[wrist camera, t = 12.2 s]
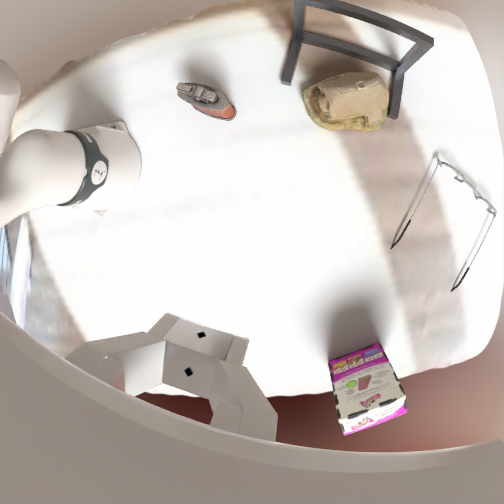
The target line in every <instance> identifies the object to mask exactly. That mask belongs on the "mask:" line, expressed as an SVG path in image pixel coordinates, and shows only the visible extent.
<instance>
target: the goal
mask: <svg viewBox="0 0 504 504" xmlns="http://www.w3.org/2000/svg"><path fill="white" fill-rule="evenodd" d="M306 6H311V7H315V8H320V9H324V10H328V11H332V12H335V13H339V14H343V15H346V16H349V17H352V18H356V19H359V20H362V21H365V22H368V23H370V24H373V25H376V26H379V27H381V28H384V29H386V30H389V31H391V32H394V33H396V34H398V35H401V36H403V37H405V38H407V39H410V40H412V41H414V42H416V44H415V45H414V46H413V47H412V48H411V49H410V50H409V51H408V52H407V53H406V55H405V56H404V57H403V58H402V59H401V60H400V61H399V62H397V61H395V60H393V59H390V58H388V57H385V56H383V55H380V54H378V53H375V52H372V51H370V50H367V49H364V48H361V47H358V46H355V45H352V44H349V43H346V42H343V41H339V40H336V39H332V38H329V37H325V36H321V35H317V34H313V33H308V32H304V30H305V15H306ZM302 43H305V44H309V45H314V46H318V47H321V48H325V49H329V50H332V51H336V52H339V53H343V54H346V55H349V56H352V57H355V58H358V59H361V60H364V61H367V62H369V63H372V64H375V65H377V66H380V67H382V68H385V69H387V70H390V71H392V72H394V77H393V84H392V91H391V97H390V103H389V109H388V115H387V117H390V118H392V119H394V120H395V119H397V118H398V114H399V108H400V102H401V95H402V88H403V81H404V73H405V72H406V71H407V70H408V69H409V68H410V67H411V66H412V65H413V64H414V63H415V62H416V61H418V60H419V59H420V58H421V57H422V56H423V55H424V54H425V53H426V52H427V51H428V50H429V49H430V48H432V47H433V46H434V38H432V37H430V36H428V35H426V34H424V33H422V32H420V31H418V30H416V29H414V28H412V27H410V26H408V25H406V24H403V23H401V22H399V21H396V20H394V19H392V18H389V17H387V16H384V15H382V14H379V13H376V12H373V11H371V10H368V9H365V8H362V7H359V6H356V5H352V4H349V3H346V2H342V1H338V0H294V39H293V42H292V46H291V49H290V53H289V56H288V60H287V64H286V67H285V71H284V74H283V78H282V84H285V85H289V86H291V83H292V80H293V76H294V72H295V68H296V65H297V61H298V57H299V54H300V50H301V46H302Z"/></svg>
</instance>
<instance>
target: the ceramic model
mask: <svg viewBox="0 0 504 504" xmlns="http://www.w3.org/2000/svg"><path fill="white" fill-rule="evenodd" d="M302 95H303V100H304V102H305V105H306V109H307V112H308V114H309V116H310V117H311V119H312V120H313V121H314V122H315V123H316V124H317V125H318V126H320V127H322V128H325V129H327V130H331V131H337V130H341V129H354V130H363V131H375V130H377V129H379V128H380V127H381V125H382V124H383V122H384V120H385V119H386V118H387V115H388V114H387V113H388V109H387V107H388V102H389V91H388V89H387V87H386V84H385V83H384V81H383V79H382V78H381V77H380V75H379V74H377V73H374V72H370V71H367V72H349V73H343V74H339V75H335V76H331V77H329V78H327V79H325V80H323V81H321V82H318V83H316V84H314V85H312V86H310V87H307V88H305V89H304V91H303V94H302Z"/></svg>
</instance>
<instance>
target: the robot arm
mask: <svg viewBox="0 0 504 504" xmlns="http://www.w3.org/2000/svg"><path fill="white" fill-rule="evenodd" d="M20 94H21V86H20V82H19V79H18V77H17V74H16V73H15V71H14V70H13V68H12V67H11V66H10V65H9V64H7V63H6V62H5V61H3V60H1V59H0V229H1V228H2V227H3V226H4V225H6V224H7V223H9V222H10V221H11V220H13V219H14V218H16V217H18V216H20V215H21V214H23V213H25V212H28V211H30V210H34V209H38V208H42V207H46V206H51V205H58V206H73V208H76V209H78V208H79V209H80V211H91V210H92V211H93V212H95V213H97V214H98V215H100V216H107V215H108V214H109V213H110V212H111V210H112V209H113V208H114V207H115V206H116V205H118V204H120V203H122V202H123V201H125V200H126V199H127V198H128V197H129V196H130V195H131V194H132V193H133V191H134V190H135V188H136V186H137V184H138V181H139V178H140V173H141V156H140V152H139V149H138V147H137V145H136V143H135V142H134V141H133V139H132V138H131V137H130V136H129V134H128V130H127V127H126V124H125V123H124V122H121V121H117V122H112V123H106V124H101V125H95V126H91V127H86V128H81V129H77V130H71V131H64V132H59V131H51V130H43V129H34V130H30V131H27V132H25V133H23V134H21V135H20V136H19V137H17V138H16V139H15V140H14V141H13V142H12V143H11V144H10V145H9V147H8V148H7V149H6V150H5V151H4V152H3V149H4V146H5V144H6V141H7V138H8V136H9V133H10V130H11V126H12V122H13V119H14V115H15V112H16V108H17V104H18V100H19V97H20ZM114 127H116V128H115V129H114ZM2 152H3V153H2ZM248 343H249V339H248V338H244V337H240V336H236V335H235V336H234V335H232V334H229V333H225V332H222V331H218V330H215V329H211V328H208V327H206V326H203V325H200V324H198V323H195V322H192V321H189V320H186V319H184V318H180V317H179V316H176V315H173V314H170V313H166V314H164V315H163V317H162V318H161V319H160V320H159V321H158V322H157V323H156V324H155V325H154V326H153V327H152V328H151V329H150V330H149V331H148V332H147V333H145V332H139V333H134V334H129V335H124V336H118V337H113V338H107V339H102V340H96V341H90V342H84V343H82V344H81V345H80V346H79V347H78V348H76V349H75V350H74V351H73V352H72V353H70V354H69V355H68V356H67V357H66V358H63V357H61V356H59V355H58V354H56V353H55V352H53V351H52V350H50V349H49V348H47V347H46V346H45V345H43V344H42V343H40V342H39V341H38V340H36V339H35V338H33V337H32V336H31V335H29V334H28V333H27V332H25V331H24V330H23V329H22V328H20V327H19V326H18V325H17V324H15V323H14V322H13V321H12V320H10V319H9V318H8V317H7V316H6V315H4V314H3V313H2V312H1V311H0V504H504V441H502V440H499V439H497V440H491V441H487V442H482V443H477V444H472V445H467V446H461V447H454V448H447V449H439V450H429V451H417V452H393V453H392V452H391V453H375V452H350V451H336V450H326V449H316V448H308V447H301V446H295V445H289V444H283V443H278V442H275V439H276V429H277V418H278V415H277V413H276V412H275V410H274V409H273V407H272V406H271V405H270V403H269V401H268V400H267V398H266V397H265V395H264V394H263V392H262V391H261V389H260V388H259V386H258V385H257V383H256V382H255V380H254V379H253V377H252V376H251V374H250V372H249V371H248V369H247V368H246V367H244V366H242V364H243V361H244V357H245V353H246V350H247V346H248ZM162 383H164V384H167V385H170V386H173V387H176V388H178V389H181V390H184V391H187V392H190V393H192V394H195V395H198V396H200V397H203V398H206V399H209V401H210V404H211V407H212V410H213V413H214V415H213V418H212V421H211V423H210V425H207V424H203V423H200V422H197V421H194V420H191V419H188V418H186V417H183V416H180V415H177V414H175V413H172V412H169V411H167V410H164V409H162V408H159V407H157V406H155V405H152V404H150V403H147V402H145V401H143V400H141V399H138V398H136V397H134V396H136V395H138V394H141V393H143V392H145V391H147V390H149V389H152V388H154V387H156V386H158V385H160V384H162Z"/></svg>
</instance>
